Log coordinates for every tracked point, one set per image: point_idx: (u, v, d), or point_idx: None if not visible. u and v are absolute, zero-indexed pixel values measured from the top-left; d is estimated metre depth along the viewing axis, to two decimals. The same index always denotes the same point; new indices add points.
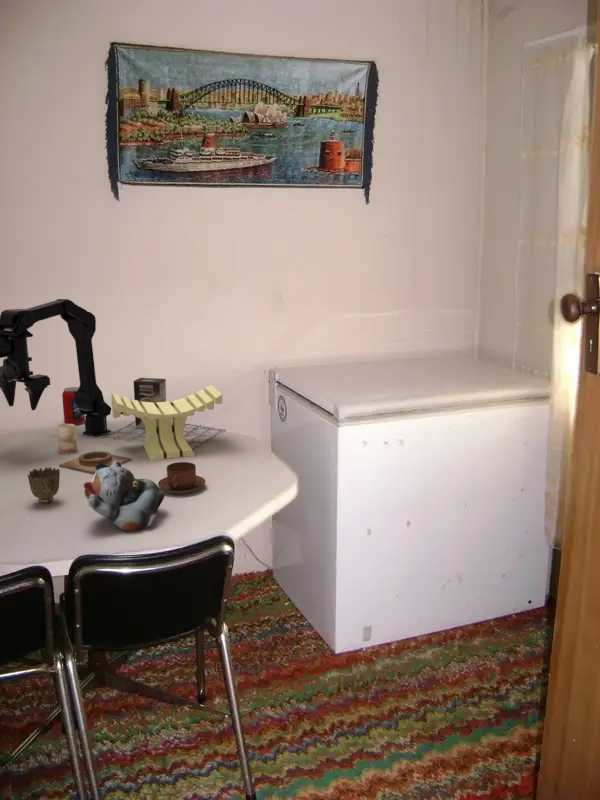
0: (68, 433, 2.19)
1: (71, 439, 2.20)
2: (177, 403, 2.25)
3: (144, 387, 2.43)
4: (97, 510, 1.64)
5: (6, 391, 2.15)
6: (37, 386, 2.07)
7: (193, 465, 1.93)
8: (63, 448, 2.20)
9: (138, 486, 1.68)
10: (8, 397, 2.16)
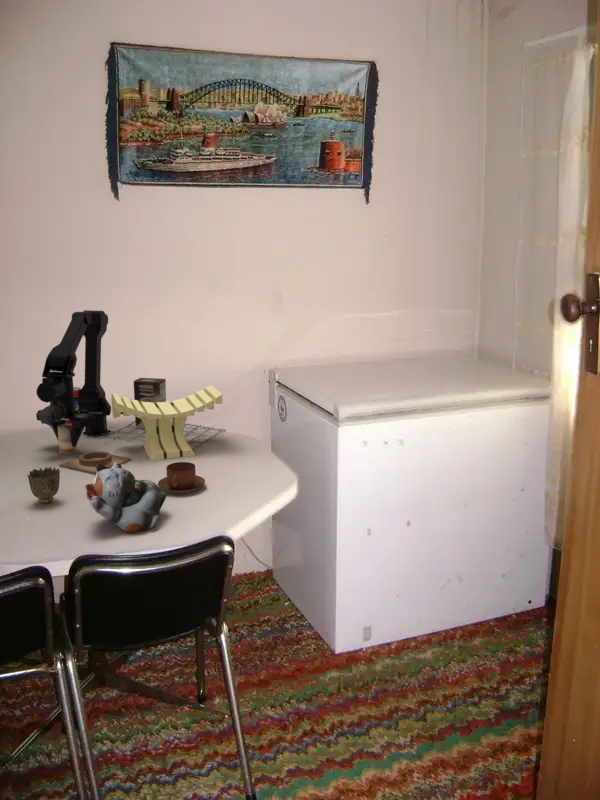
0: (68, 433, 2.19)
1: None
2: (177, 403, 2.25)
3: (144, 387, 2.43)
4: (100, 512, 1.63)
5: (56, 430, 2.22)
6: (84, 425, 2.15)
7: (193, 465, 1.93)
8: (63, 448, 2.20)
9: (140, 487, 1.68)
10: None
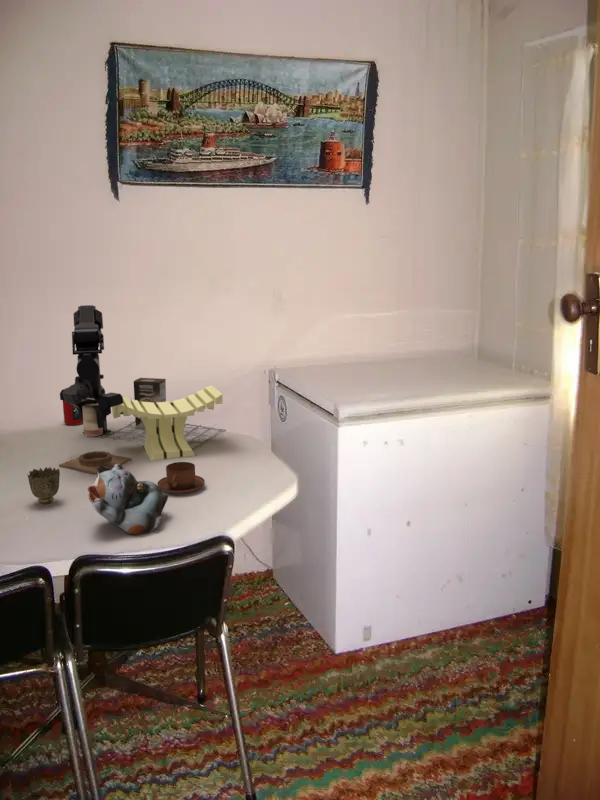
0: (93, 413, 2.07)
1: None
2: (177, 403, 2.25)
3: (144, 387, 2.43)
4: (103, 514, 1.62)
5: (81, 410, 2.09)
6: (111, 405, 2.02)
7: (192, 465, 1.94)
8: (88, 429, 2.08)
9: (143, 488, 1.67)
10: None
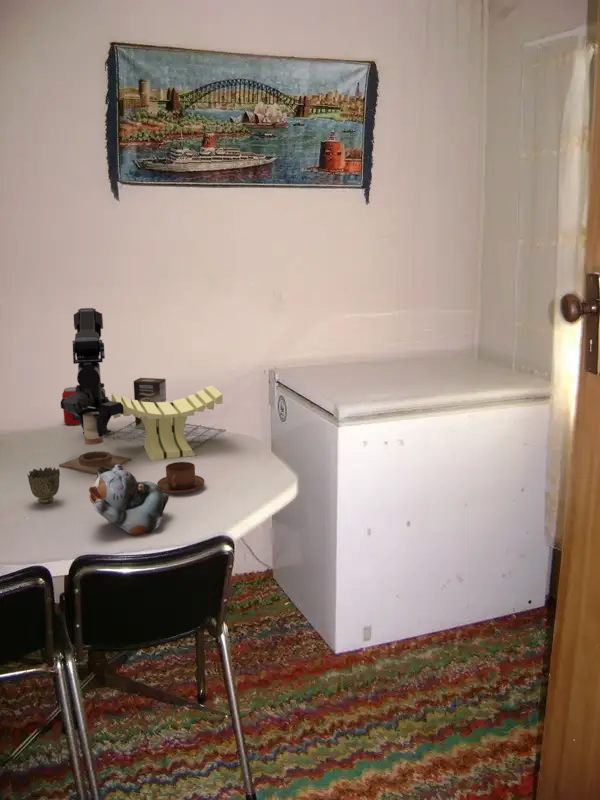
0: (94, 421, 2.07)
1: None
2: (177, 403, 2.25)
3: (144, 387, 2.43)
4: (104, 515, 1.62)
5: (82, 418, 2.10)
6: (112, 414, 2.03)
7: (192, 465, 1.94)
8: (89, 438, 2.08)
9: (144, 489, 1.67)
10: None
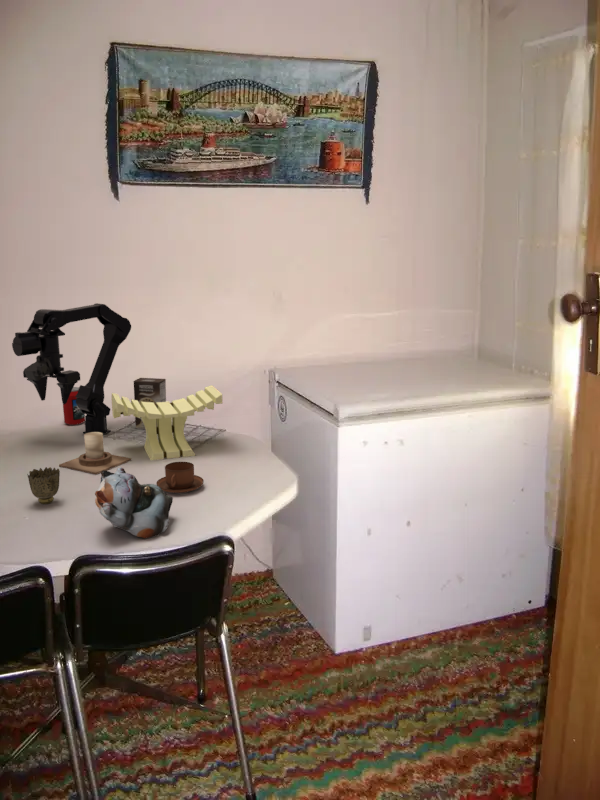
0: (95, 441, 2.09)
1: (99, 448, 2.10)
2: (177, 403, 2.25)
3: (144, 387, 2.43)
4: (112, 518, 1.59)
5: (38, 386, 2.29)
6: (69, 381, 2.21)
7: (191, 464, 1.94)
8: (90, 457, 2.10)
9: (150, 491, 1.65)
10: (40, 392, 2.30)
